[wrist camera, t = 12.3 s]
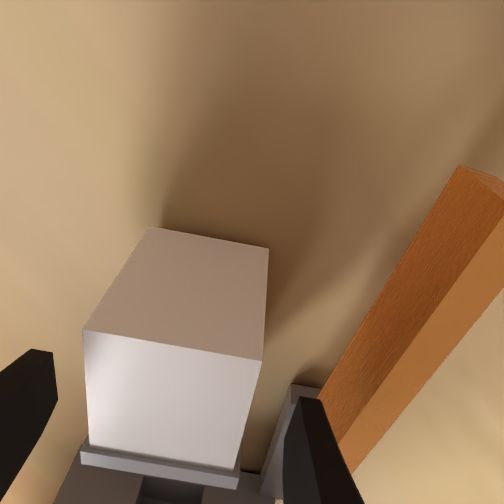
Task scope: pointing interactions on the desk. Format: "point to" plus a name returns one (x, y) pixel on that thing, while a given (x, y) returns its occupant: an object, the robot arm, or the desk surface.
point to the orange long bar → (419, 313)
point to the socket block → (181, 492)
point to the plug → (176, 358)
